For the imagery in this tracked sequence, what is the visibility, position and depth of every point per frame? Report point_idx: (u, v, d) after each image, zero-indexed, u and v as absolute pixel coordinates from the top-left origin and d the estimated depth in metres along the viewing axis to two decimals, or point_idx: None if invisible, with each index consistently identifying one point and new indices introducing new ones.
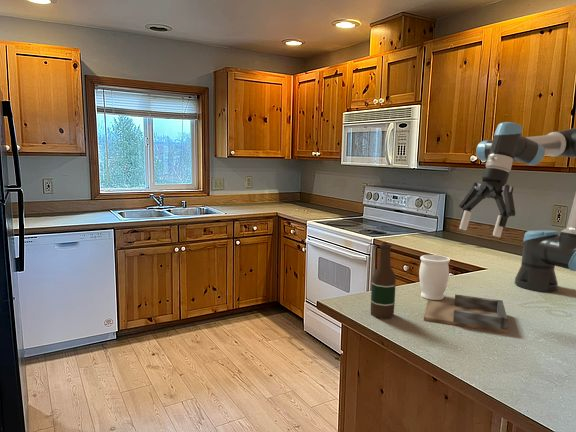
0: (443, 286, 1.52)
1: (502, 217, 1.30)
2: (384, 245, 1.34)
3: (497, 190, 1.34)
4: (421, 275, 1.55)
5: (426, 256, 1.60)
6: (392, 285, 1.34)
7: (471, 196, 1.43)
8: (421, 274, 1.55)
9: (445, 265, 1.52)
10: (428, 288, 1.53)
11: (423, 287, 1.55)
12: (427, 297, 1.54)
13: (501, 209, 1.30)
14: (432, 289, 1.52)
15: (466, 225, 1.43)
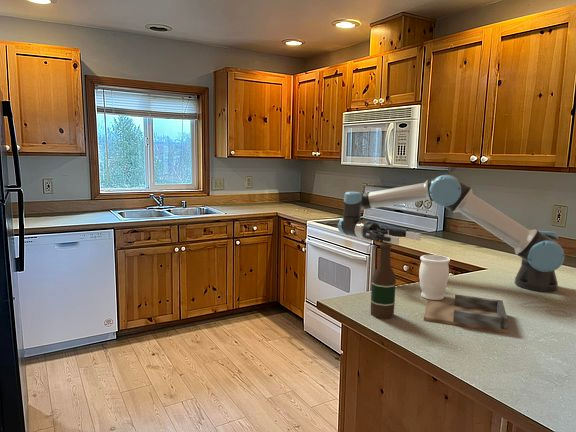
0: (443, 286, 1.52)
1: None
2: (384, 245, 1.34)
3: None
4: (421, 275, 1.55)
5: (426, 256, 1.60)
6: (392, 285, 1.34)
7: None
8: (421, 274, 1.55)
9: (445, 265, 1.52)
10: (428, 288, 1.53)
11: (423, 287, 1.55)
12: (427, 297, 1.54)
13: None
14: (432, 289, 1.52)
15: (416, 234, 1.68)
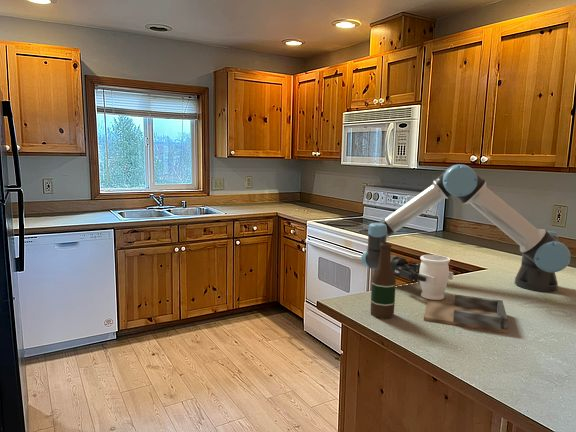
0: (443, 286, 1.52)
1: None
2: (384, 245, 1.34)
3: None
4: None
5: (426, 256, 1.60)
6: (392, 285, 1.34)
7: None
8: None
9: (445, 265, 1.52)
10: (428, 288, 1.53)
11: (423, 287, 1.55)
12: (427, 297, 1.54)
13: None
14: (432, 289, 1.52)
15: None
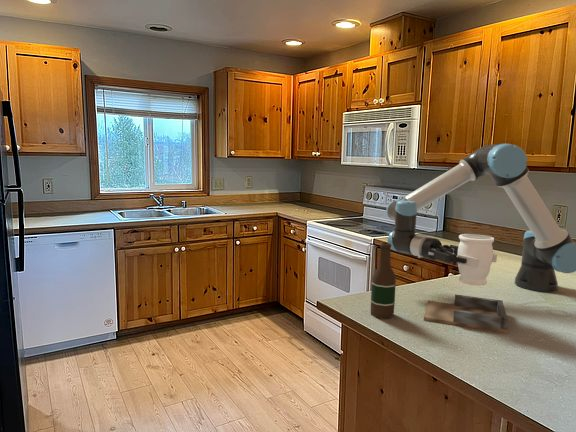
0: (487, 269, 1.32)
1: None
2: (384, 245, 1.34)
3: None
4: None
5: (465, 235, 1.39)
6: (392, 285, 1.34)
7: None
8: None
9: (489, 245, 1.31)
10: (469, 271, 1.32)
11: (463, 270, 1.34)
12: (467, 282, 1.33)
13: None
14: (474, 273, 1.32)
15: None
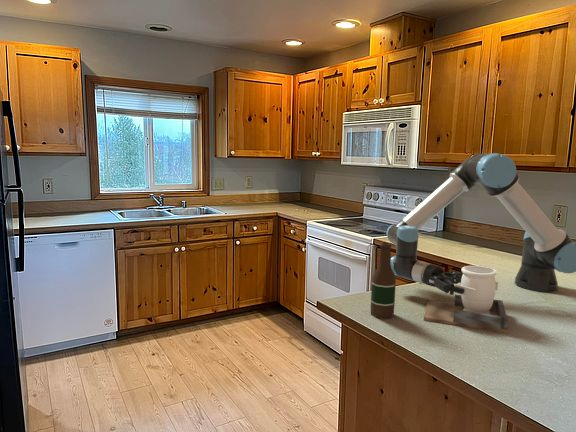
0: (490, 302, 1.33)
1: None
2: (384, 245, 1.34)
3: None
4: None
5: (467, 267, 1.40)
6: (392, 285, 1.34)
7: None
8: None
9: (492, 278, 1.32)
10: (473, 305, 1.33)
11: (467, 304, 1.35)
12: None
13: None
14: (478, 306, 1.33)
15: None
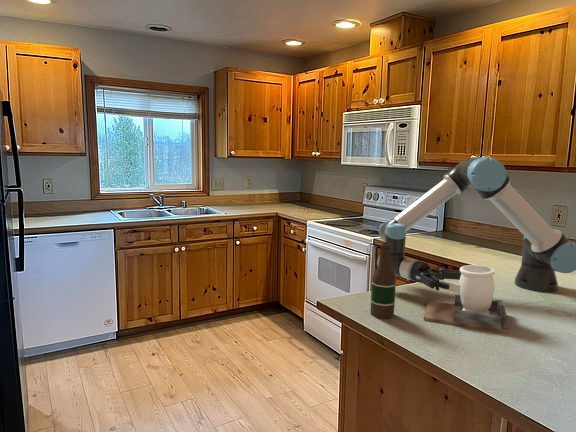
0: (490, 301, 1.33)
1: None
2: (384, 245, 1.34)
3: None
4: (464, 290, 1.35)
5: (464, 267, 1.40)
6: (392, 285, 1.34)
7: None
8: (463, 289, 1.35)
9: (491, 277, 1.32)
10: (473, 305, 1.33)
11: (467, 304, 1.35)
12: None
13: None
14: (478, 306, 1.33)
15: None
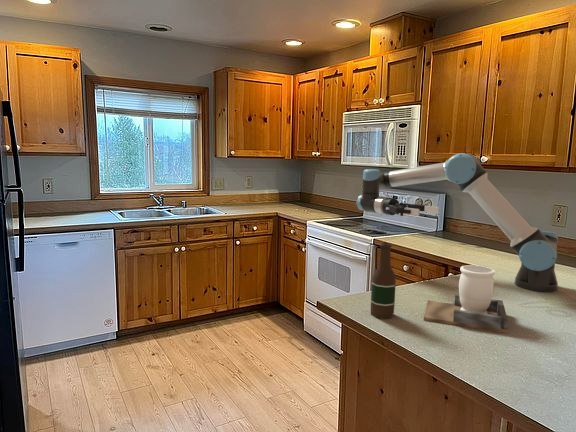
0: (490, 301, 1.35)
1: (404, 212, 1.69)
2: (384, 245, 1.34)
3: None
4: (466, 290, 1.35)
5: (463, 267, 1.40)
6: (392, 285, 1.34)
7: None
8: (466, 289, 1.34)
9: (492, 277, 1.34)
10: (475, 305, 1.34)
11: (468, 304, 1.35)
12: None
13: None
14: (480, 305, 1.33)
15: (435, 208, 1.74)
